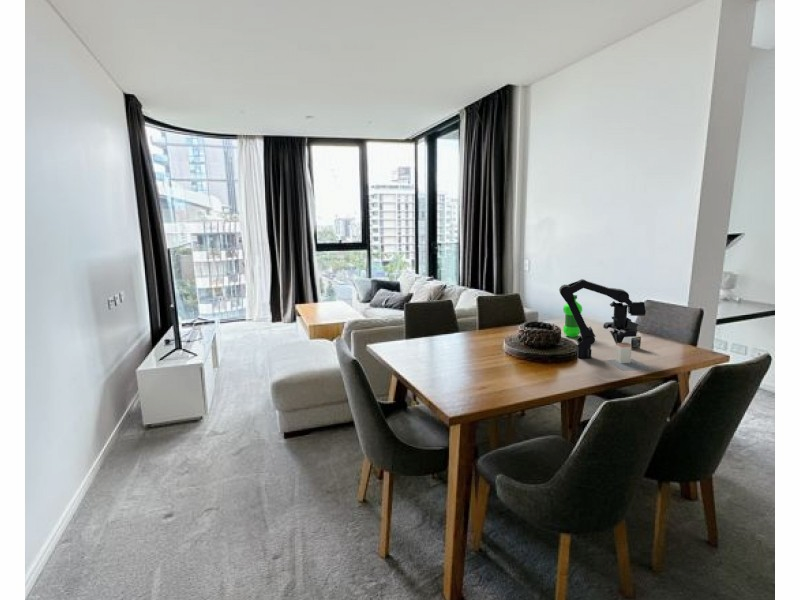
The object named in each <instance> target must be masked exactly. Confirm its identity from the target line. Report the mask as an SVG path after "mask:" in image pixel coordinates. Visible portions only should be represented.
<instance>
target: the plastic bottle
mask: <svg viewBox="0 0 800 600" xmlns="http://www.w3.org/2000/svg"><path fill="white" fill-rule="evenodd" d="M573 295H574V299H575V303H576V305H577V307H578V309H579V311H580V313H581V314H582V313H583V305H581V304H580V303H579V302H578V301H577V299H578V295H577V294H573ZM562 310H563V313H564V314H565V319H564V322H565V323H564V326H563V328H562V329H563V330H562V332H563V333H564V335H566V336H567V337H568V336H569V338H576V337H577V336H579V335H580V331H579V327H578V325H577V322H576V320H575V318H574V316H573V314H572V312H571V310H570V308H569V305H568V304H567V303H566V304H564V306H563V309H562Z"/></svg>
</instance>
